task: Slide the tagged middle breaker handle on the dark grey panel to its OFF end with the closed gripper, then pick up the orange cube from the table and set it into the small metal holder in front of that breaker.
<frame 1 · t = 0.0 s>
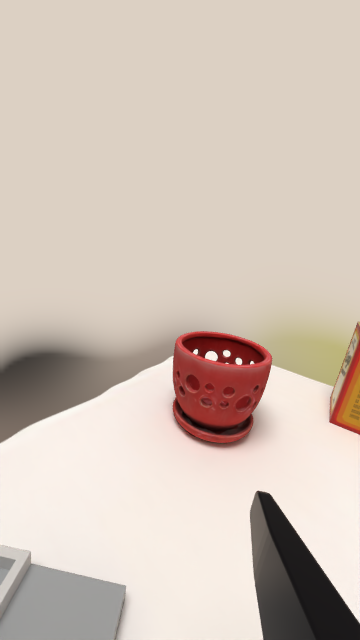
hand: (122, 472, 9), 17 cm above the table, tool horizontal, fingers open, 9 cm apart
plant pot: (207, 419, 39), on the table
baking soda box: (350, 417, 45), on the table
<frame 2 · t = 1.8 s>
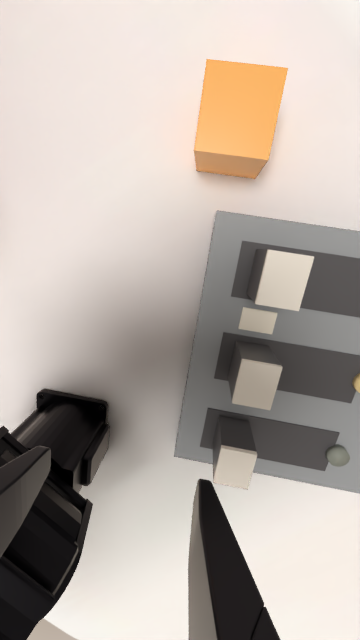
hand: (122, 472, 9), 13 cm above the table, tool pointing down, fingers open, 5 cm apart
breaker 2: (251, 372, 18), point 3 cm above the table, slide at 0.0 cm
orange cube: (231, 141, 17), on the table
breaker 1: (232, 450, 19), point 3 cm above the table, slide at 0.0 cm
breaker 3: (275, 277, 16), point 3 cm above the table, slide at 0.0 cm
panel: (320, 366, 21), on the table
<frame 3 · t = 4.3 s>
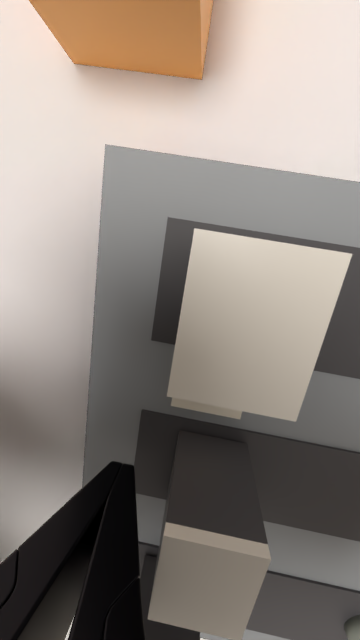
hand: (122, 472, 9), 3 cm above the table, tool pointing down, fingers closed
breaker 2: (204, 518, 8), point 3 cm above the table, slide at 0.5 cm, touching gripper
breaker 3: (237, 309, 6), point 3 cm above the table, slide at 0.0 cm
panel: (336, 464, 11), on the table
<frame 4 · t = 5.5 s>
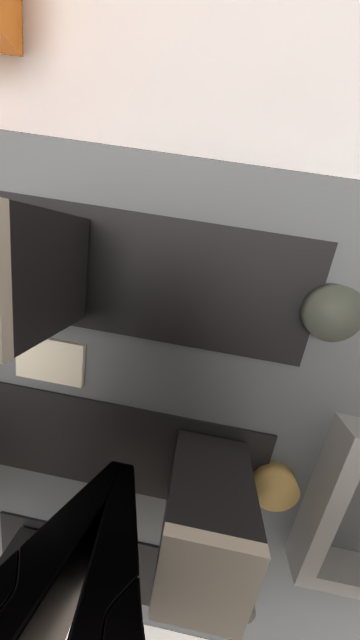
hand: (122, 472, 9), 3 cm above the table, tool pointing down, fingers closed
breaker 2: (204, 517, 8), point 3 cm above the table, slide at 6.0 cm, touching gripper
breaker 1: (19, 608, 10), point 3 cm above the table, slide at 0.0 cm
breaker 3: (7, 269, 6), point 3 cm above the table, slide at 0.0 cm
panel: (204, 437, 11), on the table
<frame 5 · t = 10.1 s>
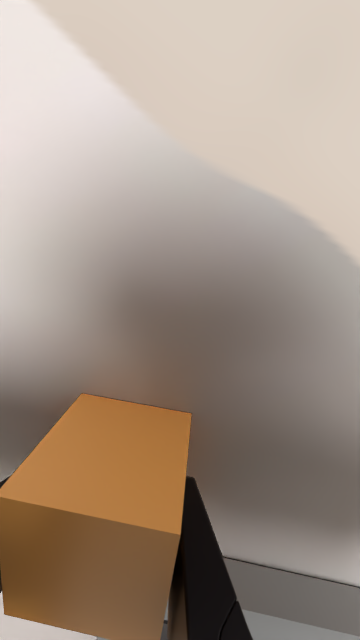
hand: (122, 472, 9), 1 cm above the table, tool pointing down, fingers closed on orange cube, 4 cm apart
orange cube: (131, 448, 10), on the table, touching gripper
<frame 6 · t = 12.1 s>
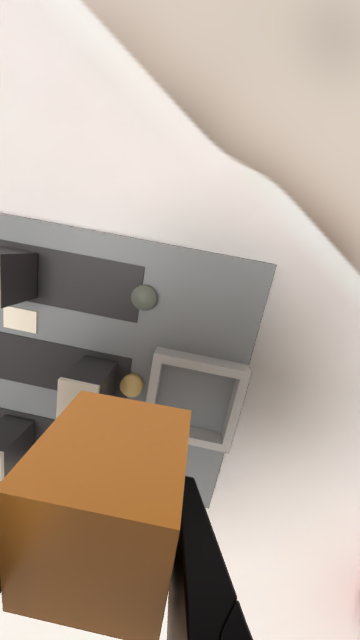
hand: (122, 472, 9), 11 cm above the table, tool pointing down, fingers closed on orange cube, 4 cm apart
breaker 2: (88, 390, 17), point 3 cm above the table, slide at 6.0 cm
orange cube: (130, 446, 10), point 10 cm above the table, touching gripper
breaker 1: (3, 449, 19), point 3 cm above the table, slide at 0.0 cm
panel: (107, 367, 20), on the table
when the fingers open (4 cm above the table, at t = 14.0 s): orange cube drops 1 cm, resting on panel.
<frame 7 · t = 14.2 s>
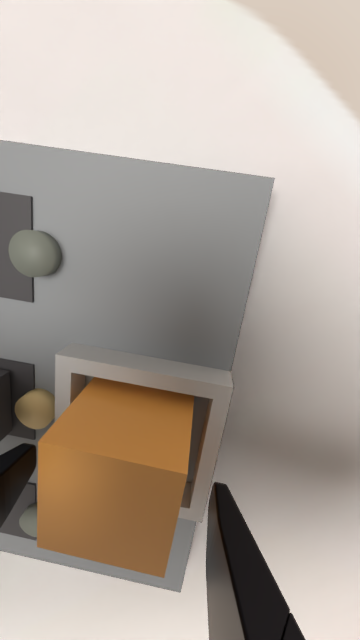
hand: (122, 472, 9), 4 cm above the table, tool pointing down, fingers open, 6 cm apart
orange cube: (140, 422, 11), point 1 cm above the table, touching panel
panel: (12, 377, 13), on the table
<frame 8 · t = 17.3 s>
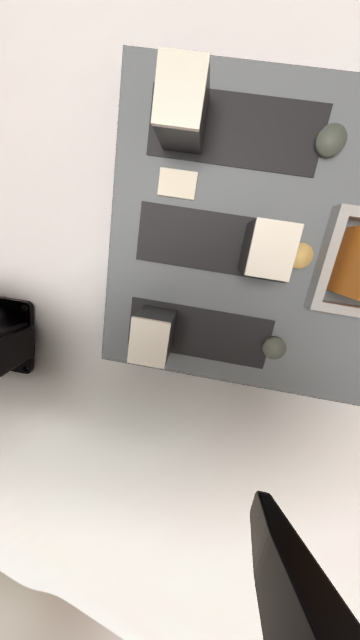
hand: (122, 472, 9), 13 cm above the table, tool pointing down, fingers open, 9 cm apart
breaker 2: (266, 250, 15), point 3 cm above the table, slide at 6.0 cm
breaker 1: (153, 334, 18), point 3 cm above the table, slide at 0.0 cm
breaker 3: (182, 108, 14), point 3 cm above the table, slide at 0.0 cm
panel: (255, 249, 19), on the table
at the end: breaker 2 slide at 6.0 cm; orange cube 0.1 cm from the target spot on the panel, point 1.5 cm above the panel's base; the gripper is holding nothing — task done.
